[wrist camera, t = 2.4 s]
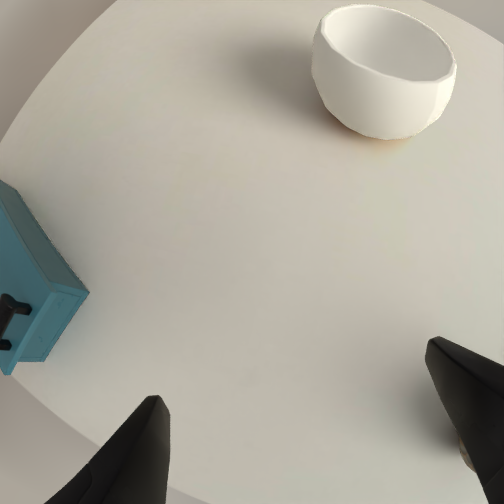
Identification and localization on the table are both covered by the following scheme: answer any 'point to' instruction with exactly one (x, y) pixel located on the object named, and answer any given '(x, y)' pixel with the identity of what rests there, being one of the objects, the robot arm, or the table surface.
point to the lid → (19, 293)
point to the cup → (381, 70)
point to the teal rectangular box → (54, 270)
